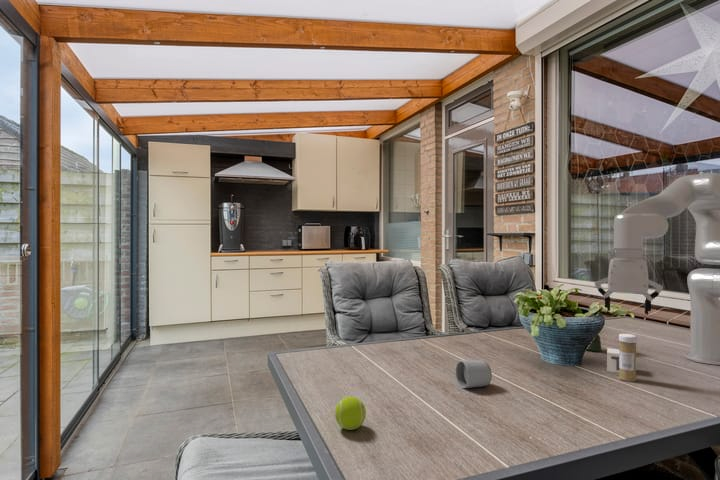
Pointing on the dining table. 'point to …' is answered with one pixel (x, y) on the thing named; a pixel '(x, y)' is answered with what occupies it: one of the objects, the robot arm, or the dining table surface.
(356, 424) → the tennis ball
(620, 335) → the sprinkles bottle
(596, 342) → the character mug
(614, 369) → the lettered cube
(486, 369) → the ceramic mug
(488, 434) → the dining table surface
